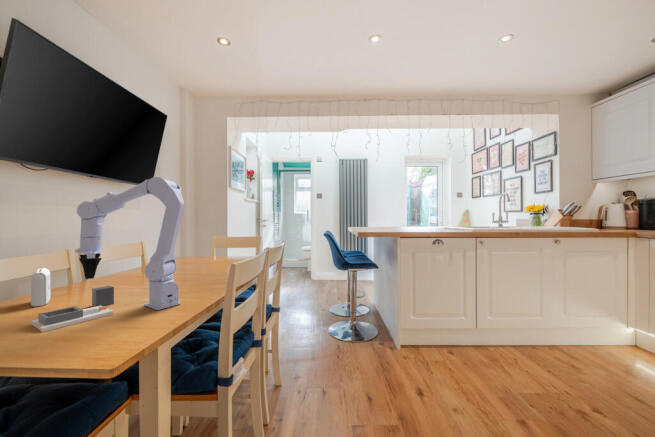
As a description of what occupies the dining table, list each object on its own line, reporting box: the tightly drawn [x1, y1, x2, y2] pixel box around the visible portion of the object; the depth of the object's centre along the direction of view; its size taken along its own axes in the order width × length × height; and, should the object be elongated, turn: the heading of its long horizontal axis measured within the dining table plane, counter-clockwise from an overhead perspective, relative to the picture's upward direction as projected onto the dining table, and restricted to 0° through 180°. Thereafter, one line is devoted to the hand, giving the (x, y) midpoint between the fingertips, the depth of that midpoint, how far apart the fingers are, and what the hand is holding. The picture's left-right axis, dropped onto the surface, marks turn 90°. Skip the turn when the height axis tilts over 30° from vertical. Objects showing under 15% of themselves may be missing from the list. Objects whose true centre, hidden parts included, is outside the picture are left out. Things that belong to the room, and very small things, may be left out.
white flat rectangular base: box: [31, 305, 114, 333], centre depth 83 cm, size 10×16×3 cm, turn 148°
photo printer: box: [30, 267, 52, 308], centre depth 98 cm, size 10×4×12 cm, turn 39°
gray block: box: [91, 285, 115, 307], centre depth 96 cm, size 4×5×6 cm
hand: (89, 276), depth 95 cm, fingers open, 7 cm apart
